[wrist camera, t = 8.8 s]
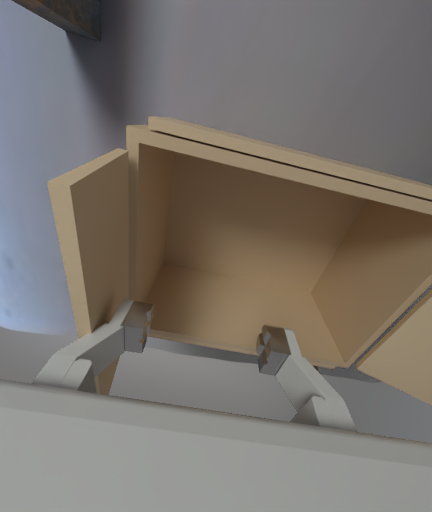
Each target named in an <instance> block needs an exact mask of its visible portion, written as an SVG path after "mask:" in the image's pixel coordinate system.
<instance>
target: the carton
mask: <svg viewBox="0 0 432 512" xmlns="http://www.w3.org/2000/svg"><path fill="white" fill-rule="evenodd" d="M126 150H128V151H129V300H134V301H139V302H144V303H149V304H154V311H153V315H154V318H153V324H152V327H151V330H150V333H149V334H148V335H147V336H148V337H154V338H160V339H165V340H171V341H177V342H182V343H188V344H194V345H200V346H205V347H211V348H217V349H222V350H228V351H234V352H239V353H245V354H251V355H257V356H259V355H258V353H257V351H256V342H257V337H258V335H259V334H260V333H262V327H263V325H271V326H277V327H282V328H288V329H292V330H293V331H294V334H295V337H296V340H297V343H298V346H299V349H300V352H301V355H302V357H304V358H306V359H307V361H308V362H309V363H310V364H311V365H314V366H319V367H325V368H331V369H334V368H335V367H336V366H337V367H343V368H348V367H349V366H350V365H351V364H352V363H353V362H354V361H355V360H356V359H357V358H358V357H359V356H360V355H361V354H362V353H363V352H364V351H365V350H366V349H367V348H368V347H369V346H370V345H371V344H372V343H373V342H374V341H375V340H376V339H377V338H378V337H379V336H380V335H381V334H382V333H383V332H384V331H385V330H386V329H387V328H388V327H389V326H390V325H391V324H392V323H393V322H394V321H395V320H396V319H397V318H398V317H399V316H400V315H401V314H402V313H403V312H404V311H405V310H406V309H407V308H408V307H409V306H410V305H411V304H412V303H413V302H414V301H415V300H416V299H417V298H418V297H419V296H420V295H421V294H422V293H423V292H424V291H425V290H426V289H427V288H428V287H429V286H430V285H431V284H432V186H431V185H428V184H425V183H421V182H418V181H414V180H411V179H407V178H403V177H399V176H395V175H391V174H387V173H383V172H380V171H376V170H372V169H368V168H364V167H360V166H356V165H353V164H349V163H345V162H341V161H337V160H333V159H329V158H325V157H322V156H318V155H314V154H310V153H306V152H302V151H298V150H294V149H291V148H287V147H283V146H279V145H275V144H271V143H267V142H263V141H260V140H256V139H252V138H248V137H244V136H240V135H236V134H233V133H229V132H225V131H221V130H217V129H213V128H209V127H205V126H202V125H198V124H194V123H190V122H186V121H182V120H178V119H174V118H167V117H154V116H149V123H148V125H126Z"/></svg>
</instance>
